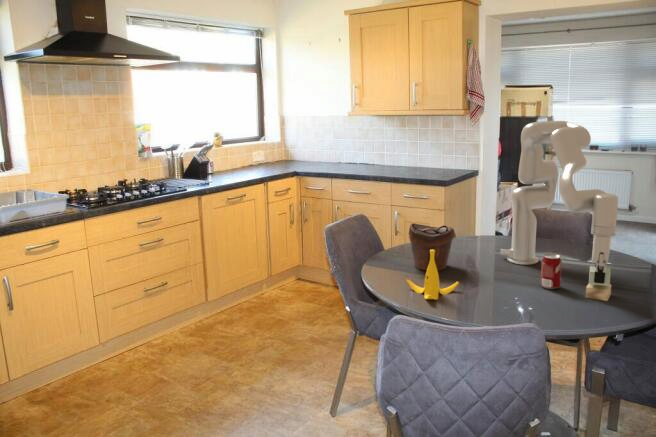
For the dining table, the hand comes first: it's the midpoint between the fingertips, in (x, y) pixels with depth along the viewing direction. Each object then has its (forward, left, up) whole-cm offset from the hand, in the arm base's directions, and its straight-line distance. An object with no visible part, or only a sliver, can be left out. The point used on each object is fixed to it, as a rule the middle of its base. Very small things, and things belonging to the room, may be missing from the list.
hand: (599, 279), depth 205 cm
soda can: (-16, +4, -6) cm, 18 cm away
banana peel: (-53, -16, -7) cm, 56 cm away
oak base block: (0, 0, -6) cm, 6 cm away
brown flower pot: (-63, +14, -6) cm, 65 cm away
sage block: (0, 0, -1) cm, 1 cm away
